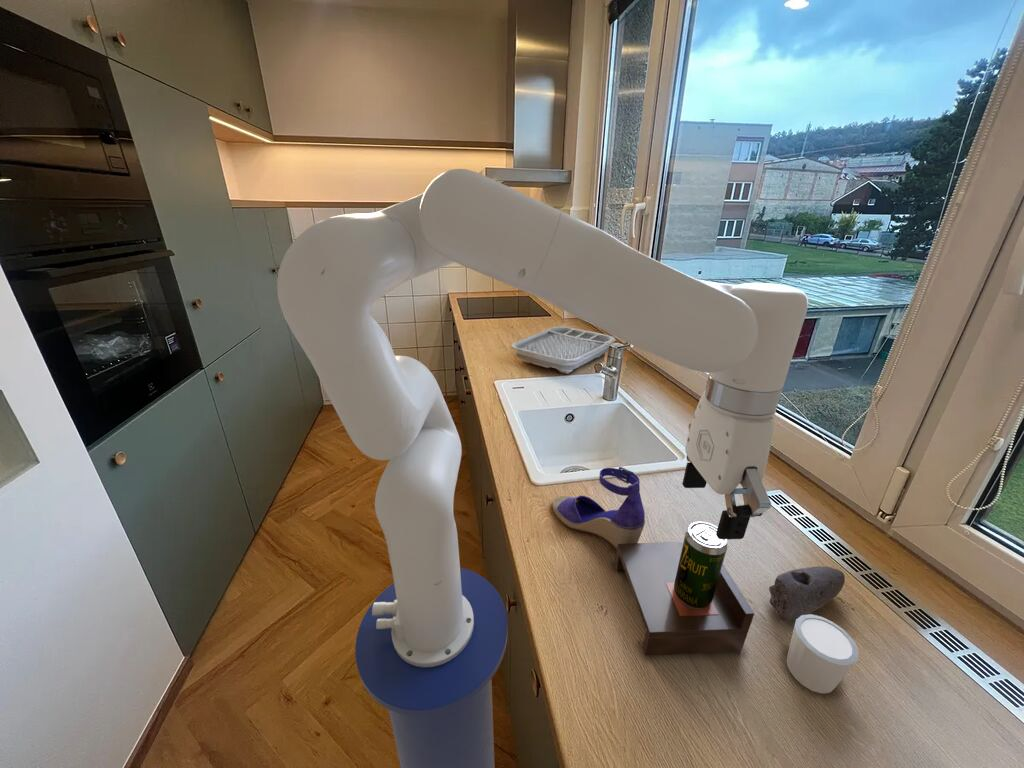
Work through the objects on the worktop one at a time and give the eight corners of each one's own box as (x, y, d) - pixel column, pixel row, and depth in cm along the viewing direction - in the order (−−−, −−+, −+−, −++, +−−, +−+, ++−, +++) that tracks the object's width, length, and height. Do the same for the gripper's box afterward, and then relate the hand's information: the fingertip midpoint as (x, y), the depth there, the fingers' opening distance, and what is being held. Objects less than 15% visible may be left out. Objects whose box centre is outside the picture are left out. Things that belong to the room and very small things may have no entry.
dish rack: (504, 362, 166) (504, 343, 162) (556, 340, 191) (557, 324, 188) (570, 382, 147) (572, 361, 144) (618, 355, 172) (620, 337, 169)
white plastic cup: (779, 638, 60) (792, 605, 58) (836, 660, 58) (853, 627, 55) (782, 682, 55) (797, 648, 52) (845, 709, 52) (865, 675, 49)
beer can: (685, 574, 65) (699, 515, 60) (718, 597, 61) (736, 536, 56) (665, 593, 62) (678, 532, 57) (699, 618, 58) (716, 555, 53)
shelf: (645, 656, 58) (652, 617, 55) (614, 564, 73) (619, 530, 70) (741, 651, 59) (754, 613, 55) (692, 562, 73) (700, 527, 70)
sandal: (574, 493, 91) (579, 435, 84) (646, 552, 75) (658, 486, 69) (545, 507, 86) (548, 447, 80) (614, 572, 71) (624, 504, 65)
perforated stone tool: (821, 579, 70) (834, 548, 67) (852, 605, 65) (868, 573, 63) (752, 603, 66) (762, 571, 63) (781, 633, 61) (794, 600, 58)
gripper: (678, 366, 55) (658, 471, 62) (752, 432, 39) (714, 563, 46) (732, 366, 55) (706, 470, 62) (828, 431, 40) (778, 561, 47)
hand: (709, 510), depth 54 cm, fingers open, 9 cm apart
